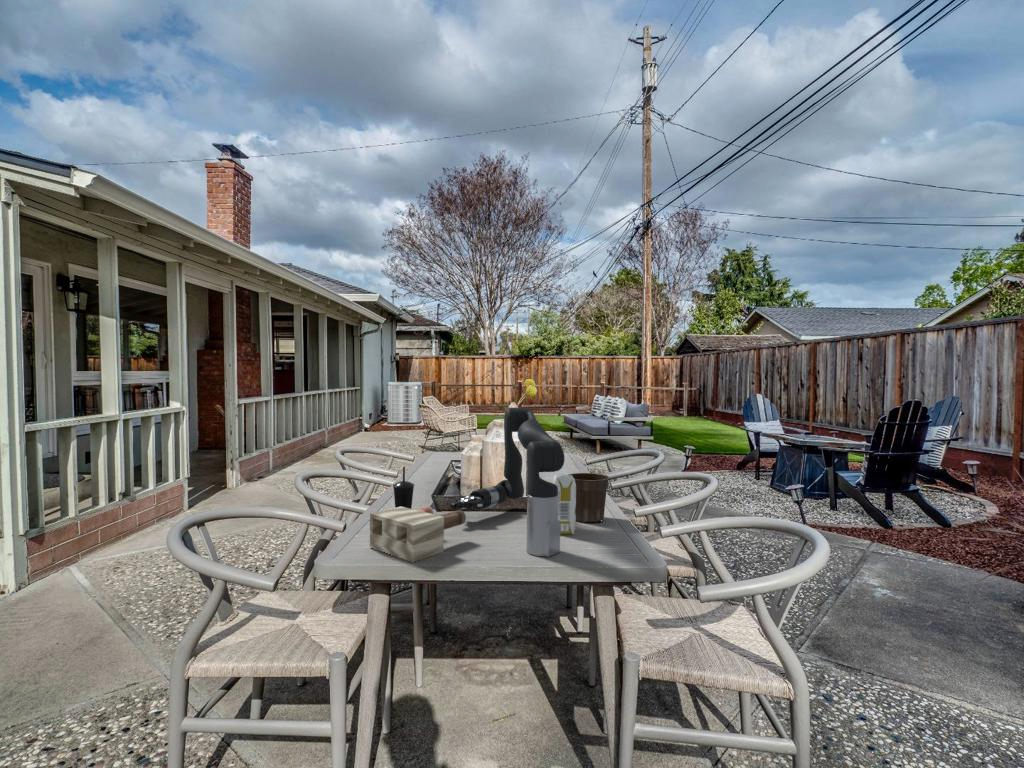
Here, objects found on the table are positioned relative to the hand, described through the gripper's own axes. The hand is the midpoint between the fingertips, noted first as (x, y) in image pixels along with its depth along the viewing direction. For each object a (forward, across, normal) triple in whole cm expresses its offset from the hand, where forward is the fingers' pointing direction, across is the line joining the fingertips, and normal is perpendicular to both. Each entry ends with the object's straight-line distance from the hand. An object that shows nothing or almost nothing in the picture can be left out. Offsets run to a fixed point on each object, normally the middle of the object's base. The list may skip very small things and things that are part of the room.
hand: (452, 507), depth 179 cm
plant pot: (-40, +31, +7) cm, 52 cm away
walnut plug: (+16, +11, +2) cm, 20 cm away
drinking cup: (+7, -17, +7) cm, 20 cm away
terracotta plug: (+20, 0, +2) cm, 20 cm away
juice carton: (-20, +33, +7) cm, 39 cm away
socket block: (+26, +6, +7) cm, 28 cm away
